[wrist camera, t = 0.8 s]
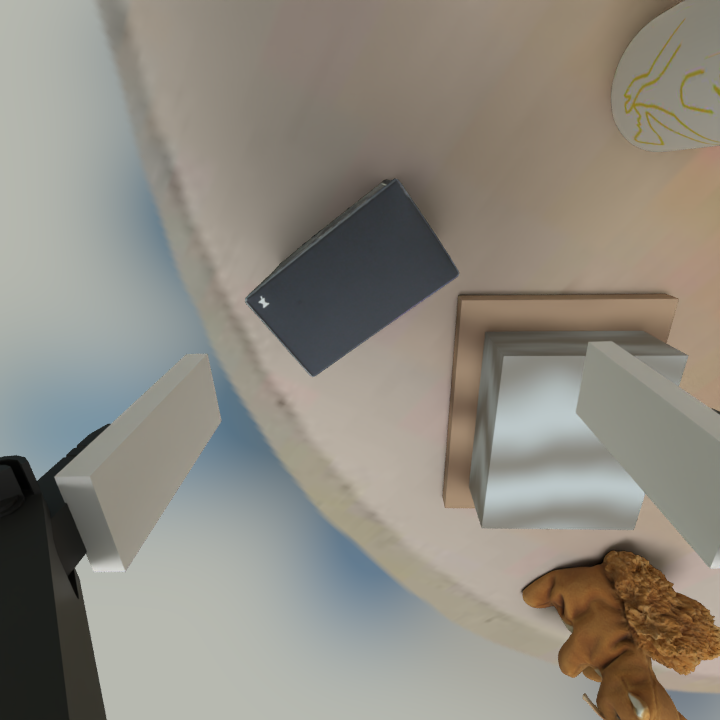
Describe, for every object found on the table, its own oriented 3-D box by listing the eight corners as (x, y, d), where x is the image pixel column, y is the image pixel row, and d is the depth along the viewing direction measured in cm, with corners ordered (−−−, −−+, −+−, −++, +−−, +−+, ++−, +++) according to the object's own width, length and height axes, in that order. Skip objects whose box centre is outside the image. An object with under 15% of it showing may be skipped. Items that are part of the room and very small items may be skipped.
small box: (329, 329, 34) (311, 385, 25) (276, 265, 33) (235, 299, 23) (437, 250, 32) (465, 279, 22) (387, 175, 30) (394, 171, 20)
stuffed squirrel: (513, 592, 46) (563, 740, 33) (620, 516, 41) (723, 656, 29) (573, 633, 48) (641, 786, 36) (681, 565, 43) (801, 714, 31)
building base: (458, 295, 33) (476, 320, 27) (666, 294, 32) (732, 319, 26) (442, 496, 41) (454, 550, 35) (610, 498, 40) (651, 553, 34)
